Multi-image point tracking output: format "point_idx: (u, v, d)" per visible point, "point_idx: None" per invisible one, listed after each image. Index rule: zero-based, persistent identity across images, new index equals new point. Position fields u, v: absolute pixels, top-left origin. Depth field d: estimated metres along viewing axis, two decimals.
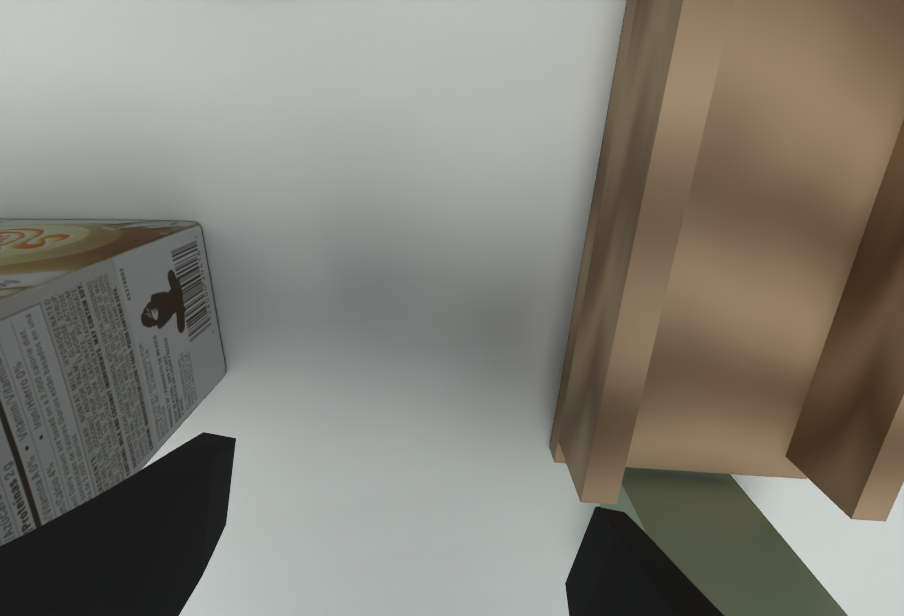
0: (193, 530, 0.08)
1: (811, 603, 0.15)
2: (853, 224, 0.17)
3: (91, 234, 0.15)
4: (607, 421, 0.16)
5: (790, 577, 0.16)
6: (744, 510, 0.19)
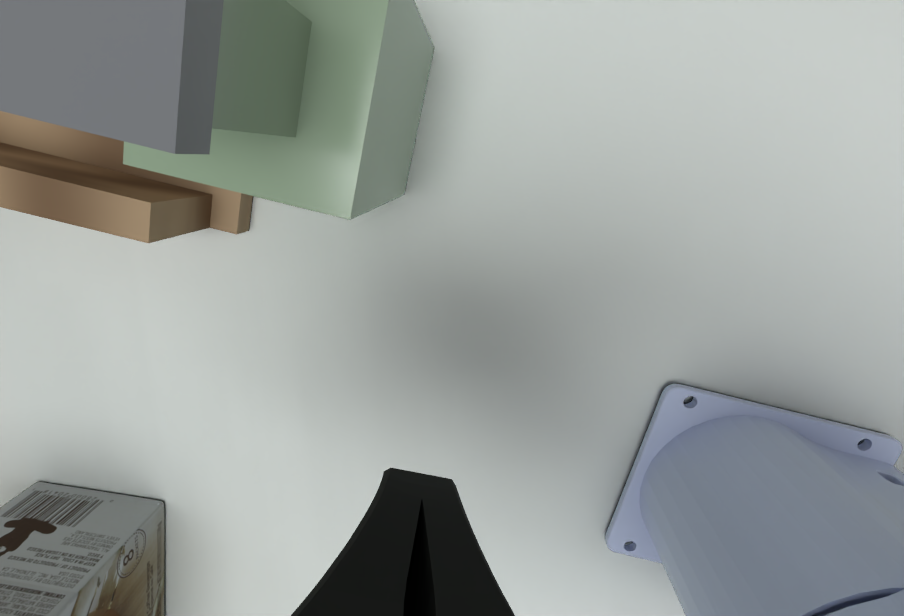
0: None
1: None
2: None
3: None
4: (46, 207, 0.15)
5: None
6: None
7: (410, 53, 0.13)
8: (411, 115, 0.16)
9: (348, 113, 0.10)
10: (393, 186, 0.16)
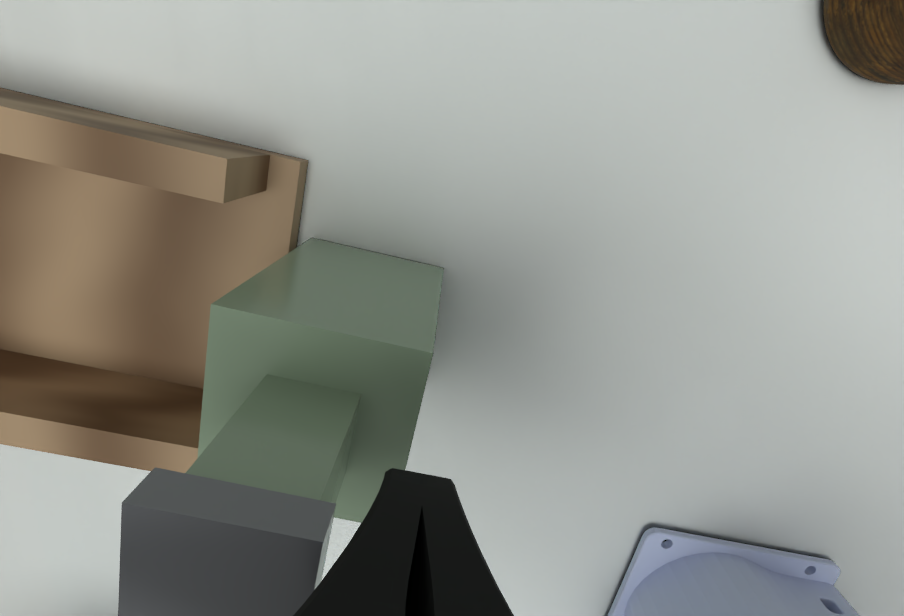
0: None
1: None
2: None
3: None
4: (103, 453, 0.16)
5: None
6: None
7: None
8: None
9: (391, 456, 0.12)
10: None
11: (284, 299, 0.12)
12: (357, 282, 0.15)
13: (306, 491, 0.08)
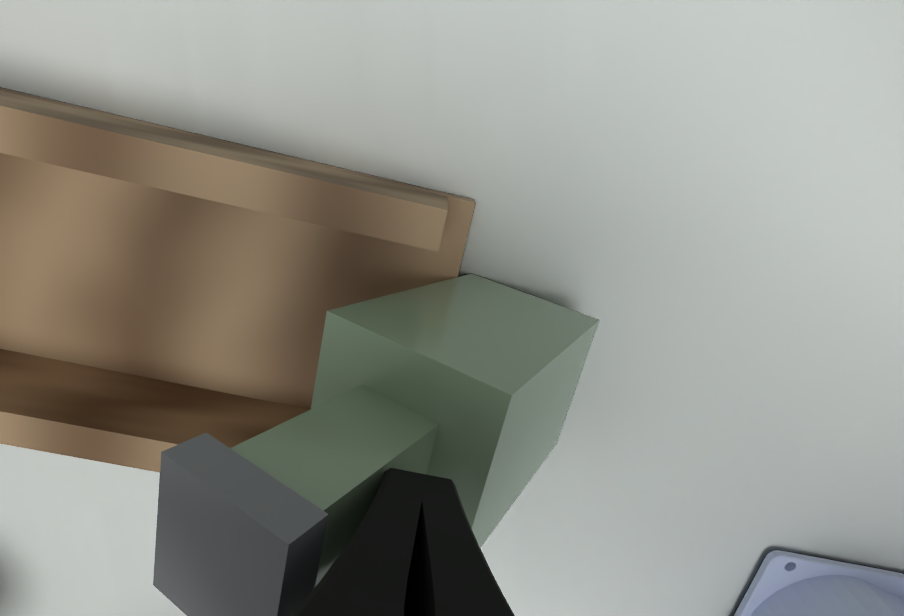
0: None
1: None
2: None
3: None
4: None
5: None
6: None
7: (550, 385, 0.14)
8: (560, 401, 0.16)
9: (461, 499, 0.11)
10: (533, 468, 0.16)
11: (397, 318, 0.13)
12: (484, 316, 0.15)
13: (320, 495, 0.08)
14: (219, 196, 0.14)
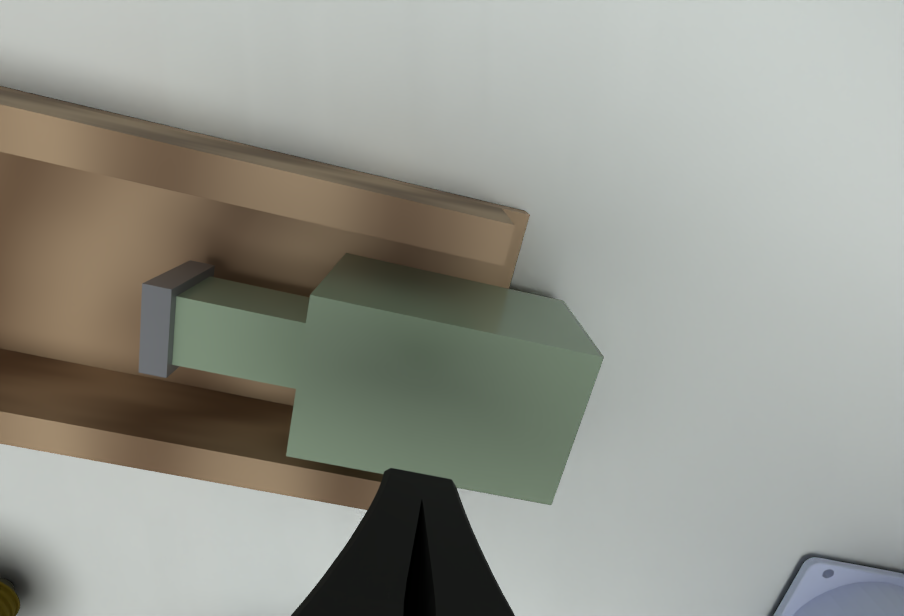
0: None
1: None
2: None
3: None
4: (346, 498, 0.17)
5: None
6: None
7: (435, 357, 0.14)
8: (505, 417, 0.14)
9: None
10: (461, 475, 0.15)
11: (377, 269, 0.17)
12: (455, 298, 0.16)
13: (197, 297, 0.15)
14: (289, 211, 0.14)
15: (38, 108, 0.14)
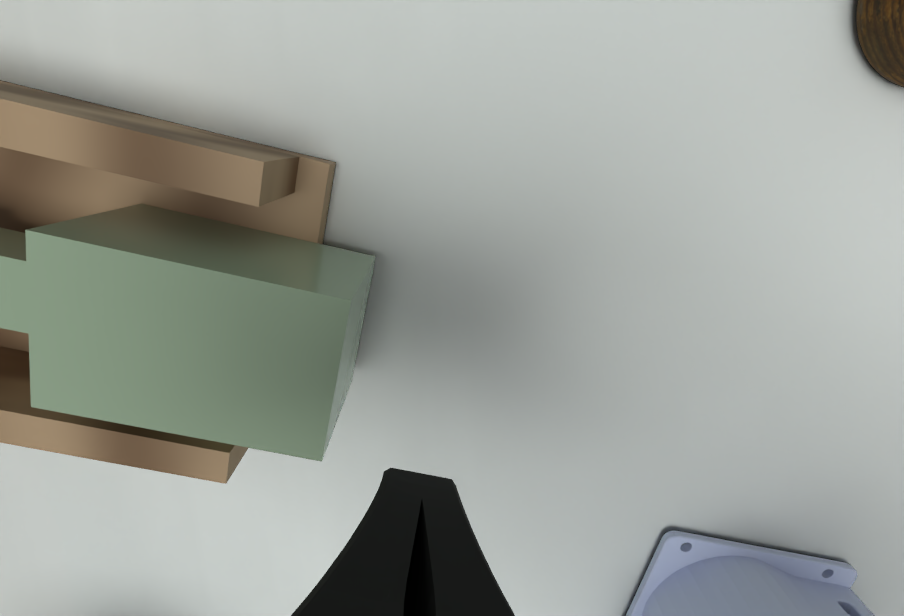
0: None
1: None
2: None
3: None
4: (130, 457, 0.16)
5: None
6: None
7: (172, 299, 0.13)
8: (256, 365, 0.14)
9: None
10: (221, 428, 0.14)
11: (161, 217, 0.16)
12: (228, 244, 0.15)
13: None
14: (20, 145, 0.13)
15: None
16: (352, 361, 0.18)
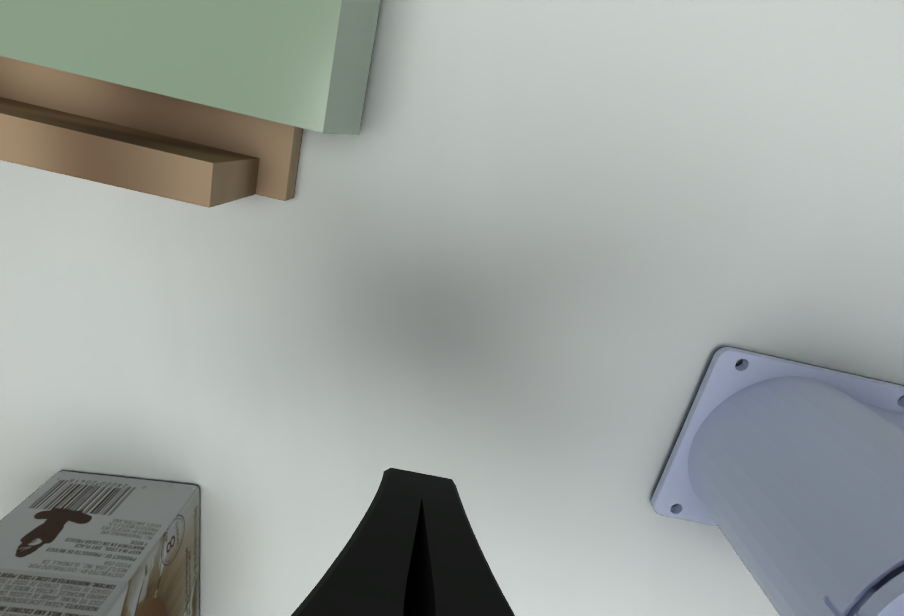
0: None
1: None
2: None
3: None
4: (95, 169, 0.14)
5: None
6: None
7: None
8: None
9: None
10: (198, 82, 0.12)
11: None
12: None
13: None
14: None
15: None
16: (359, 83, 0.15)
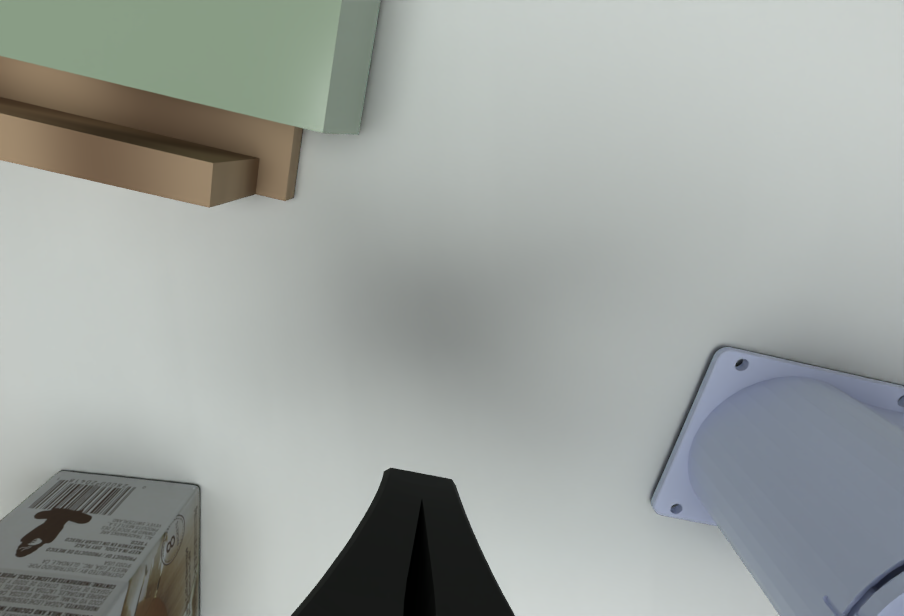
0: None
1: None
2: None
3: None
4: (95, 169, 0.14)
5: None
6: None
7: None
8: None
9: None
10: (198, 82, 0.12)
11: None
12: None
13: None
14: None
15: None
16: (359, 83, 0.15)
